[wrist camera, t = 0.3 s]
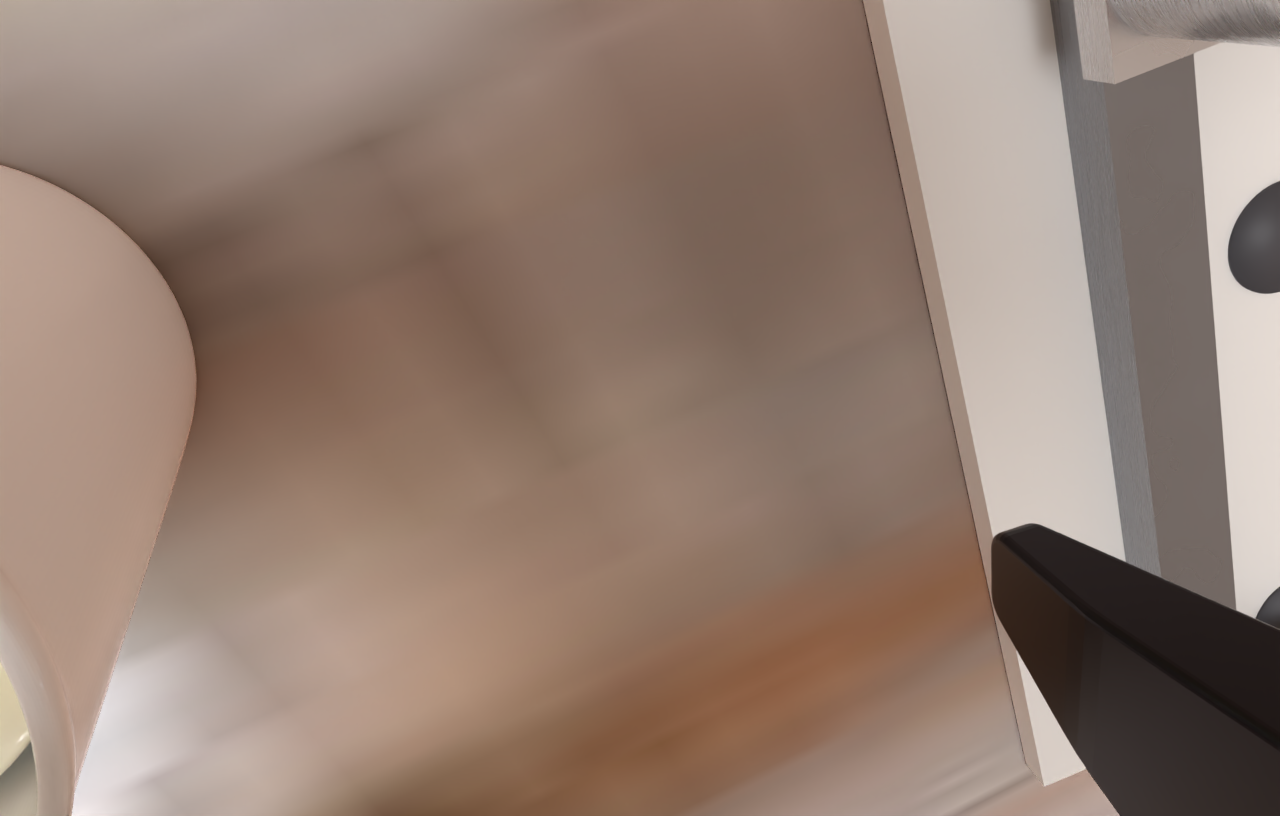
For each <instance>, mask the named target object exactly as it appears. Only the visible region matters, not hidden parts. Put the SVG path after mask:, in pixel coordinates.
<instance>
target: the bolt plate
mask: <svg viewBox="0 0 1280 816" xmlns="http://www.w3.org/2000/svg"><path fill="white" fill-rule="evenodd" d="M863 3H864V8H865V13H866V17H867V22H868V27H869V31H870V36H871V41H872V46H873V50H874V55H875V60H876V64H877V69H878V74H879V78H880V83H881V88H882V92H883V97H884V102H885V106H886V111H887V116H888V120H889V125H890V130H891V134H892V139H893V144H894V149H895V153H896V158H897V163H898V167H899V172H900V177H901V181H902V186H903V191H904V195H905V200H906V205H907V209H908V214H909V219H910V223H911V228H912V233H913V237H914V242H915V247H916V252H917V256H918V261H919V266H920V270H921V275H922V280H923V284H924V289H925V294H926V298H927V303H928V308H929V312H930V317H931V322H932V326H933V331H934V336H935V340H936V345H937V350H938V354H939V359H940V364H941V369H942V373H943V378H944V383H945V387H946V392H947V397H948V401H949V406H950V411H951V415H952V420H953V425H954V429H955V434H956V439H957V443H958V448H959V453H960V457H961V462H962V467H963V472H964V476H965V481H966V486H967V490H968V495H969V500H970V504H971V509H972V514H973V518H974V523H975V528H976V532H977V537H978V542H979V546H980V551H981V556H982V560H983V565H984V570H985V574H986V579H987V584H988V589H989V593H990V598H991V603H992V607H993V612H994V617H995V621H996V626H997V631H998V635H999V640H1000V645H1001V649H1002V654H1003V659H1004V663H1005V668H1006V673H1007V677H1008V682H1009V687H1010V692H1011V696H1012V701H1013V706H1014V710H1015V715H1016V720H1017V724H1018V729H1019V734H1020V738H1021V743H1022V748H1023V752H1024V757H1025V762H1026V764H1027V766H1028V767H1029V768H1030V769H1031V771H1032V772H1033V773H1034V774H1035V776H1036V777H1037V778H1038V780H1039V781H1040V782H1041V783H1042V785H1043V786H1044V787H1045V786H1048V785H1050V784H1052V783H1055V782H1057V781H1059V780H1062V779H1064V778H1066V777H1069V776H1071V775H1073V774H1076V773H1078V772H1080V771H1083V770H1085V769H1086V767H1085V766H1084V764H1083V763H1082V761H1081V760H1080V759H1079V757H1078V756H1077V754H1076V753H1075V751H1074V749H1073V748H1072V746H1071V744H1070V743H1069V741H1068V739H1067V738H1066V736H1065V734H1064V733H1063V731H1062V729H1061V727H1060V726H1059V724H1058V722H1057V720H1056V719H1055V717H1054V715H1053V713H1052V712H1051V710H1050V708H1049V706H1048V705H1047V703H1046V701H1045V699H1044V698H1043V696H1042V694H1041V692H1040V691H1039V689H1038V687H1037V685H1036V684H1035V682H1034V680H1033V678H1032V676H1031V675H1030V673H1029V671H1028V669H1027V668H1026V666H1025V664H1024V662H1023V661H1022V659H1021V657H1020V655H1019V654H1018V652H1017V650H1016V648H1015V647H1014V645H1013V643H1012V641H1011V640H1010V638H1009V636H1008V634H1007V633H1006V631H1005V629H1004V627H1003V626H1002V624H1001V622H1000V620H999V618H998V616H997V614H996V611H995V608H994V605H993V601H992V594H991V544H992V540H993V538H994V536H995V535H996V534H998V533H1000V532H1003V531H1006V530H1009V529H1012V528H1015V527H1018V526H1021V525H1025V524H1028V523H1035V524H1040V525H1043V526H1045V527H1047V528H1050V529H1052V530H1054V531H1056V532H1059V533H1061V534H1063V535H1066V536H1068V537H1070V538H1072V539H1075V540H1077V541H1079V542H1082V543H1084V544H1086V545H1088V546H1091V547H1093V548H1095V549H1098V550H1100V551H1102V552H1104V553H1107V554H1109V555H1111V556H1114V557H1116V558H1118V559H1120V560H1123V561H1125V562H1126V560H1125V552H1124V545H1123V538H1122V530H1121V523H1120V515H1119V508H1118V501H1117V493H1116V486H1115V478H1114V471H1113V464H1112V456H1111V449H1110V442H1109V434H1108V427H1107V419H1106V412H1105V405H1104V397H1103V390H1102V383H1101V375H1100V368H1099V360H1098V353H1097V346H1096V338H1095V331H1094V323H1093V316H1092V309H1091V301H1090V294H1089V287H1088V279H1087V272H1086V264H1085V257H1084V250H1083V242H1082V235H1081V227H1080V220H1079V213H1078V205H1077V198H1076V191H1075V183H1074V176H1073V168H1072V161H1071V154H1070V146H1069V139H1068V132H1067V124H1066V117H1065V109H1064V102H1063V95H1062V87H1061V80H1060V72H1059V65H1058V58H1057V50H1056V43H1055V36H1054V28H1053V21H1052V13H1051V6H1050V0H863ZM1194 66H1195V79H1196V92H1197V105H1198V118H1199V131H1200V144H1201V157H1202V170H1203V183H1204V196H1205V209H1206V222H1207V235H1208V248H1209V261H1210V273H1211V286H1212V299H1213V312H1214V325H1215V338H1216V351H1217V364H1218V377H1219V390H1220V403H1221V416H1222V429H1223V442H1224V455H1225V468H1226V481H1227V494H1228V507H1229V520H1230V533H1231V546H1232V559H1233V572H1234V585H1235V598H1236V610H1237V611H1239V612H1242V613H1244V614H1246V615H1248V616H1251V617H1253V618H1255V619H1258V620H1260V621H1262V622H1264V623H1267V624H1269V625H1271V626H1274V627H1276V628H1278V629H1280V47H1272V46H1260V45H1247V44H1235V43H1219V44H1217V45H1214V46H1211V47H1209V48H1206V49H1204V50H1201V51H1199V52H1196V53H1194Z"/></svg>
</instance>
